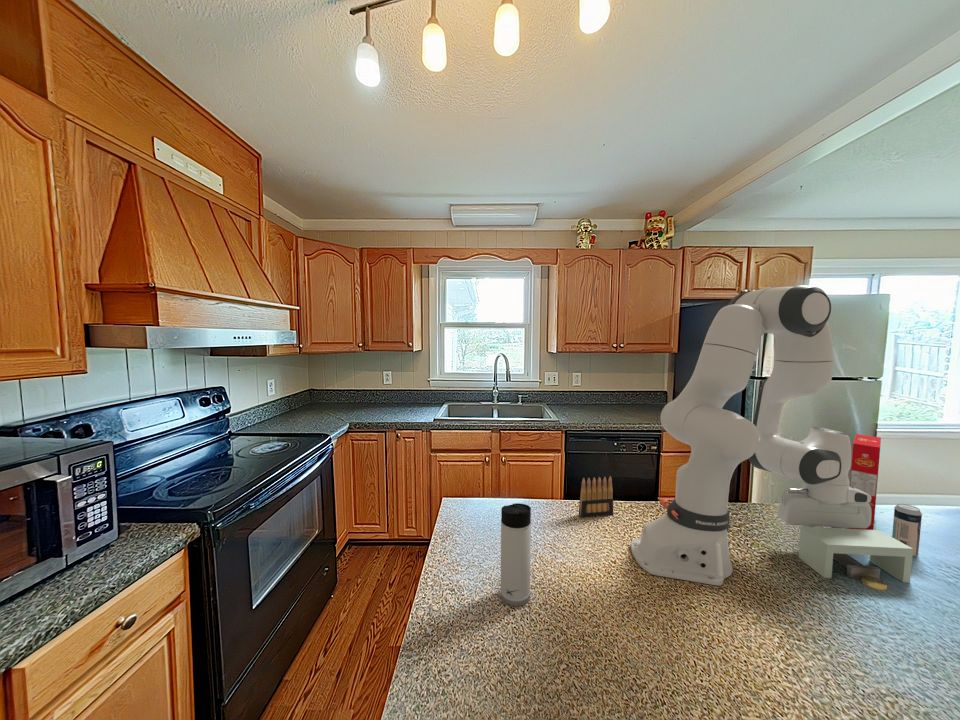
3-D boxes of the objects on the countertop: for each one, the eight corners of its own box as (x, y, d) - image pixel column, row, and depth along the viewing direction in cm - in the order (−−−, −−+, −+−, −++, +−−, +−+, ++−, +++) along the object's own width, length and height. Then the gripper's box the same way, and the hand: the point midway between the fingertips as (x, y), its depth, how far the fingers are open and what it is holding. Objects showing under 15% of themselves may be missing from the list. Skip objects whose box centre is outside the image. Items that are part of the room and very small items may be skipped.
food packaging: (850, 511, 119) (856, 434, 118) (874, 517, 116) (881, 437, 114) (846, 527, 109) (853, 443, 108) (872, 535, 106) (880, 447, 104)
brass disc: (872, 591, 83) (873, 586, 83) (855, 580, 87) (856, 575, 87) (892, 593, 82) (892, 587, 82) (874, 581, 86) (875, 576, 86)
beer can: (924, 558, 94) (928, 512, 94) (901, 556, 95) (905, 510, 95) (907, 548, 99) (910, 503, 98) (885, 545, 100) (889, 502, 99)
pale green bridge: (824, 577, 87) (826, 544, 86) (798, 557, 95) (800, 526, 94) (910, 582, 85) (913, 548, 85) (876, 561, 93) (878, 530, 93)
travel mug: (511, 612, 76) (512, 516, 75) (495, 592, 82) (495, 502, 80) (536, 601, 79) (538, 509, 77) (519, 583, 85) (520, 496, 83)
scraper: (850, 578, 87) (852, 557, 86) (798, 540, 103) (800, 522, 102) (879, 579, 86) (881, 558, 86) (822, 541, 102) (823, 523, 102)
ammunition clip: (581, 517, 115) (582, 479, 114) (578, 514, 117) (579, 476, 116) (613, 514, 117) (614, 476, 116) (610, 511, 119) (611, 474, 118)
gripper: (791, 493, 96) (787, 545, 97) (878, 496, 94) (874, 549, 95) (774, 483, 102) (770, 532, 103) (856, 486, 100) (852, 536, 101)
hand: (821, 541), depth 99 cm, fingers closed on scraper, 3 cm apart
